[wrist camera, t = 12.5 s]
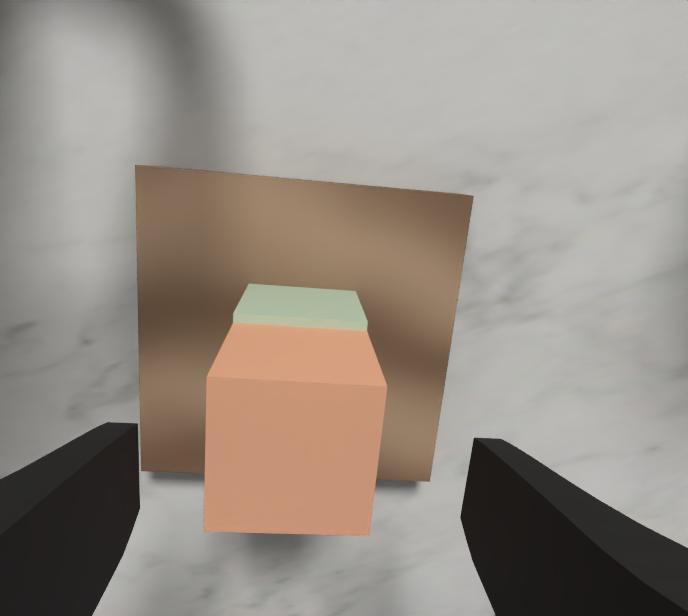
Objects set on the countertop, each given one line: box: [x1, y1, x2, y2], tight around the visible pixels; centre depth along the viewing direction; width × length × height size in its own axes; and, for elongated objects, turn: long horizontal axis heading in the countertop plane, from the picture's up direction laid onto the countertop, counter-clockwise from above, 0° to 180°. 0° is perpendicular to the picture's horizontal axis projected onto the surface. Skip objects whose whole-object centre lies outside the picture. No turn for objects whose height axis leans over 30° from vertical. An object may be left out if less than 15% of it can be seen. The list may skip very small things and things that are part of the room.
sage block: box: [233, 284, 368, 331], centre depth 17 cm, size 4×4×4 cm
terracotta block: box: [204, 323, 387, 536], centre depth 13 cm, size 4×4×4 cm
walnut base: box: [135, 165, 474, 482], centre depth 20 cm, size 12×12×2 cm
